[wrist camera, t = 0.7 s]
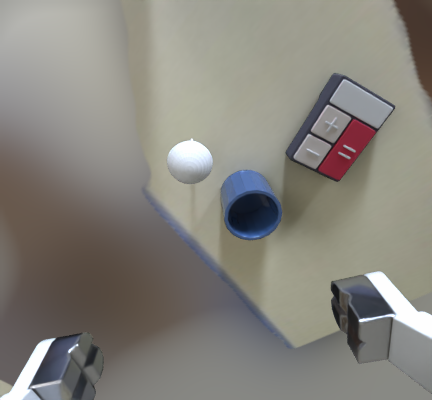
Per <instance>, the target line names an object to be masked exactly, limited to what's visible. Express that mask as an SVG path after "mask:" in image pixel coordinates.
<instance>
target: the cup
mask: <svg viewBox="0 0 432 400" xmlns="http://www.w3.org/2000/svg"><path fill="white" fill-rule="evenodd" d="M221 203H222V209H223V215H224V221H225V224H226V227H227V229H228V230H229V231H230V232H231V233H232V234H233V235H234V236H236V237H238V238H240V239H245V240H256V239H261V238H263V237H265V236H268V235H269V234H271V233H272V232H273V231H274V230H275V229H276V228H277V226H278V224H279V223H280V221H281V216H282V209H281V204H280V202H279V200H278V199H277V197H276V195H275V194H274V192H273V190H272V188H271V187H270V185H269V183H268V182H267V180H266V179H265V178H264V177H263V176H262V175H261V174H259V173H258V172H255V171H251V170H243V171H238V172H236V173H234V174H232V175H231V176H229V177H228V178H227V179H226V180H225V182H224V183H223V185H222V188H221Z"/></svg>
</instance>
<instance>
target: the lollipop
mask: <svg viewBox="0 0 432 400" xmlns="http://www.w3.org/2000/svg"><path fill="white" fill-rule="evenodd" d="M212 164H213V162H212V156H211V154H210V152H209V151H208V150H207V148H206V147H204V146H203V145H202V144H200V143H198V142H195V141H193V139H191V140H190V141H184V142H181V143H179V144H177V145H176V146H175V147H173V149H172V150H171V151H170V153H169V155H168V158H167V165H168V169H169V172H170V173H171V175H172V176H173V177H174V178H175V179H177V180H178V181H180V182H182V183H185V184H195V183H198V182H200V181H202V180H204V179H205V178H206V177H207V176H208V175H209V174H210V172H211V169H212Z"/></svg>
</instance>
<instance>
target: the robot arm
mask: <svg viewBox="0 0 432 400" xmlns="http://www.w3.org/2000/svg"><path fill="white" fill-rule="evenodd" d="M331 291H332V293H333V295H334V297H333V298H332V300H331V303H332V310H333V314H334V317H335V320H336V322H337V324H338V326H339V328H340V330H341V331H343V332H344V333H346V334H347V338H348V339H347V343H348V345H349V347H350V349H351V350H352V352H353V354H354V356H355V358H356V360H357V362H358V363H359V364H361V363H368V362H374V361H380V360H386V359H388V361H389V362H391V363H392V364H393V365H395V366H396V367H397V368H399V369H400V370H401V371H402V372H404V373H405V374H406V375H408V376H409V377H410V378H411V379H413V380H414V381H415V382H417V383H418V384H419V385H421V386H422V387H423V388H424V389H426V390H427V391H428V392H430V393H431V394H432V315H430V314H427V313H426V312H417V311H416V310H415V308H414V307H413V306H412V305H411V304H410V303H409V302H408V301H407V299H406V298H405V297H404V296H403V295H402V294H401V293H400V292H399V290H398V289H397V288H396V287H395V286H394V285H393V284H392V283H391V281H390V280H389V279H388V278H387V277H386V276H385V275H384V274H383V273H382V272H380V271H378V272H373V273H368V274H364V275H358V276H354V277H349V278H345V279H340V280H335V281H332V282H331ZM92 341H93V338H92V336H91V335H90V333H80V334H74V335H69V336H63V337H58V338H53V339H47V340H43V341H41V342H40V343H39V344H38V345H37V347H36V348H35V350H34V352H33V354H32V355H31V357H30V359H29V360H28V362H27V364H26V366H25V368H24V369H23V371H22V373H21V374H20V376H19V378H18V380H17V381H16V383H15V385H14V387H13V388H12V390H11V392H10V393H8V394H5V395H4V396H2V397H1V398H0V400H94V397H95V394H96V391H95V388H94V385H95V384H96V382H97V381H98V380H99V379H100V377H101V374H102V371H103V363H104V358H103V354H102V351H101V350H100V348H99V347H98V346H95V345H93V344H92Z"/></svg>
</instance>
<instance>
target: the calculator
mask: <svg viewBox="0 0 432 400" xmlns="http://www.w3.org/2000/svg"><path fill="white" fill-rule="evenodd" d="M394 109H395V105H393V104H392V103H390V102H388V101H387V100H385V99H383V98H382V97H380V96H378V95H377V94H375V93H373V92H372V91H370V90H368V89H367V88H365V87H363V86H362V85H360V84H358V83H357V82H355V81H353V80H352V79H350V78H348V77H347V76H345V75H341V74H336V73H334V74H333V75H332V76H331V78H330V79H329V81H328V83H327V84H326V86H325V87H324V89H323V91H322V92H321V94H320V97H319V99H318V101H317V103H316V104H315V106H314V108H313V109H312V111H311V112H310V114H309V116H308V117H307V119H306V120H305V122H304V124H303V125H302V127H301V128H300V130H299V132H298V133H297V135H296V136H295V138H294V139H293V141H292V143H291V144H290V146H289V147H288V149H287V151H286V154H287V156H288V157H289V159H290V160H292V161H294V162H296V163H298V164H300V165H303V166H305V167H307V168H309V169H311V170H313V171H315V172H317V173H319V174H321V175H324V176H326V177H328V178H330V179H332V180H334V181H336V182H338V181H340V180H341V178H342V177H343V176H344V174H345V173H346V172H347V170H348V169H349V168H350V166H351V165H352V164H353V163H354V161H355V160H356V159H357V157H358V156H359V155H360V153H361V152H362V151H363V150H364V148H365V147H366V146H367V144H368V143H369V142H370V140H371V139H372V138H373V136H374V135H375V134H376V133H377V131H378V130H379V129H380V127H381V126H382V125H383V123H384V122H385V121H386V120H387V118H388V117H389V116H390V114H391V113H392V112H393V110H394Z"/></svg>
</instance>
